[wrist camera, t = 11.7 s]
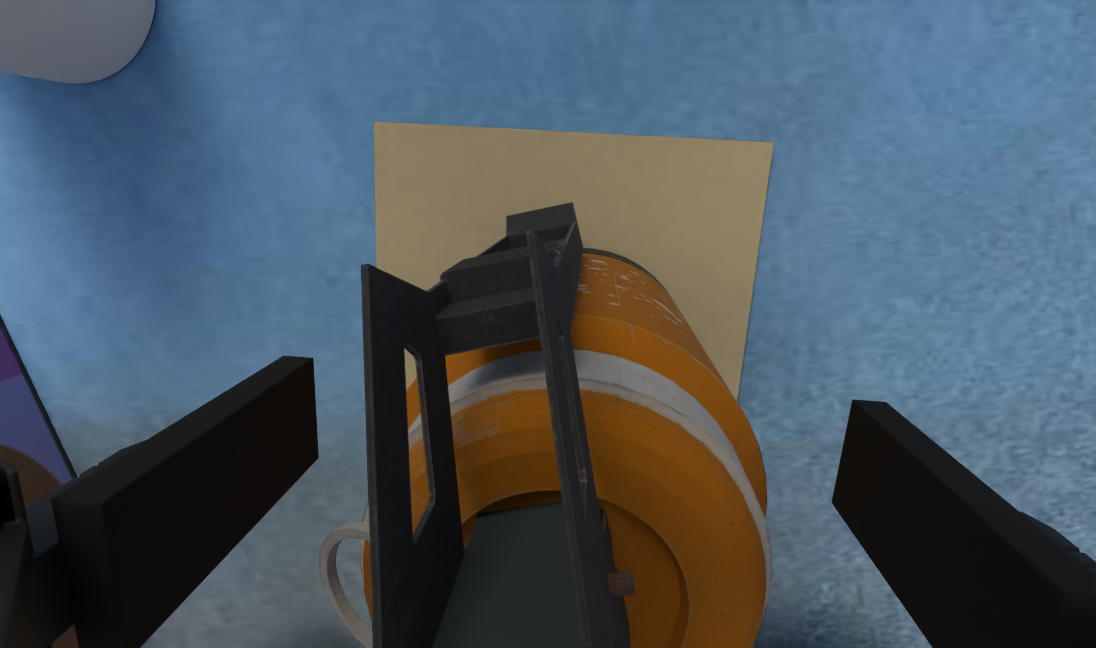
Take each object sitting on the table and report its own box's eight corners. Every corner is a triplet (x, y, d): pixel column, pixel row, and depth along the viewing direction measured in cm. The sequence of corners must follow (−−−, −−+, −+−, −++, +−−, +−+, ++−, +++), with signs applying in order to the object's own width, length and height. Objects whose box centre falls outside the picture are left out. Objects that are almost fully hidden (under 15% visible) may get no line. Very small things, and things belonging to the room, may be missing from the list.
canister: (503, 458, 27) (284, 1133, 8) (444, 219, 25) (-69, 372, 6) (699, 426, 26) (986, 1118, 7) (657, 174, 24) (925, 169, 5)
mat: (376, 122, 25) (373, 121, 24) (771, 142, 24) (774, 142, 23) (382, 547, 30) (380, 551, 29) (710, 578, 29) (711, 583, 28)
